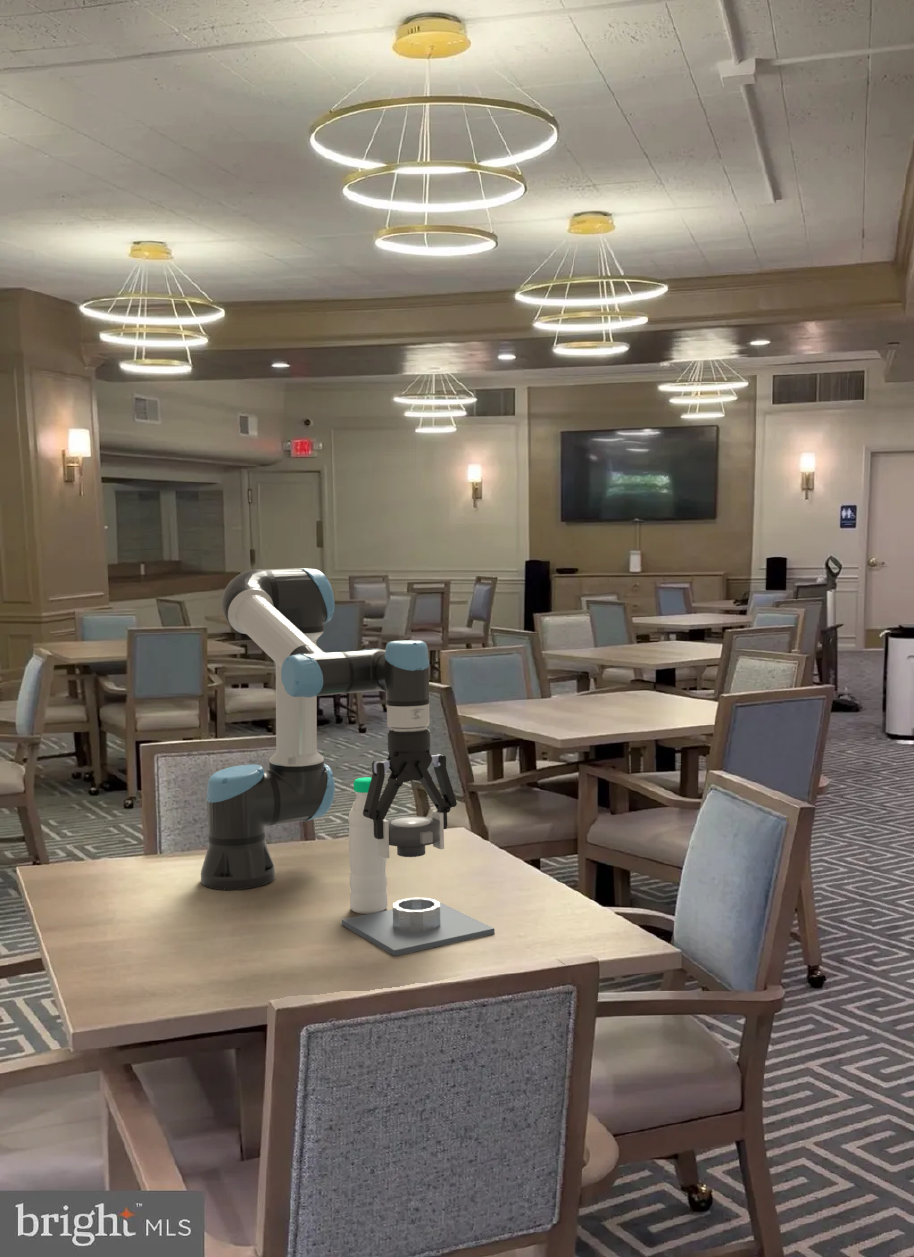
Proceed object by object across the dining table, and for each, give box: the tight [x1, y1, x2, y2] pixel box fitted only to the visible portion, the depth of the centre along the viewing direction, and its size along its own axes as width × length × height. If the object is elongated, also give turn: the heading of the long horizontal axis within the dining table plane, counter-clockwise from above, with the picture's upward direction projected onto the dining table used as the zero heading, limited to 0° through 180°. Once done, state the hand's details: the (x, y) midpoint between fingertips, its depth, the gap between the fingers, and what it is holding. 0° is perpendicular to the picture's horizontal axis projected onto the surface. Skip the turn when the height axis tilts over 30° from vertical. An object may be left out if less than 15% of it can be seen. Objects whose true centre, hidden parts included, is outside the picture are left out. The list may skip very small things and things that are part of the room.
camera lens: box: [386, 815, 440, 858], centre depth 202 cm, size 12×10×6 cm
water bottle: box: [347, 776, 388, 915], centre depth 215 cm, size 7×7×25 cm
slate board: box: [341, 902, 495, 957], centre depth 203 cm, size 20×20×1 cm
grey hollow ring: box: [392, 896, 441, 932], centre depth 203 cm, size 8×8×4 cm
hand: (411, 852), depth 202 cm, fingers closed on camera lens, 10 cm apart
